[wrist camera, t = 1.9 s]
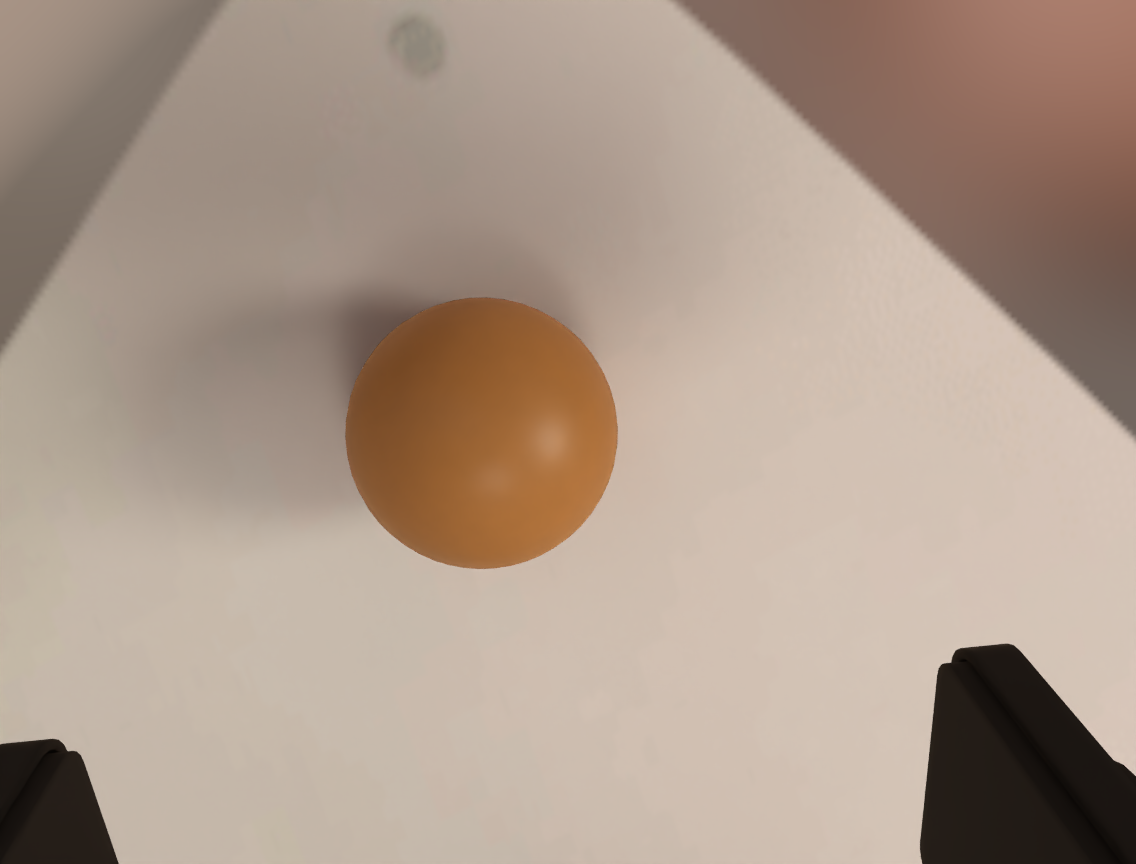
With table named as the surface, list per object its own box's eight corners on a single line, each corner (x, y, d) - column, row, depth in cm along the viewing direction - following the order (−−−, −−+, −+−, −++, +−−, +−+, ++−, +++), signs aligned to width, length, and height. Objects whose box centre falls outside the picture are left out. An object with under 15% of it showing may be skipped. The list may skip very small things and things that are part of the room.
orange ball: (381, 504, 23) (351, 637, 18) (345, 281, 21) (299, 360, 16) (607, 482, 23) (641, 608, 18) (594, 259, 21) (629, 331, 16)
